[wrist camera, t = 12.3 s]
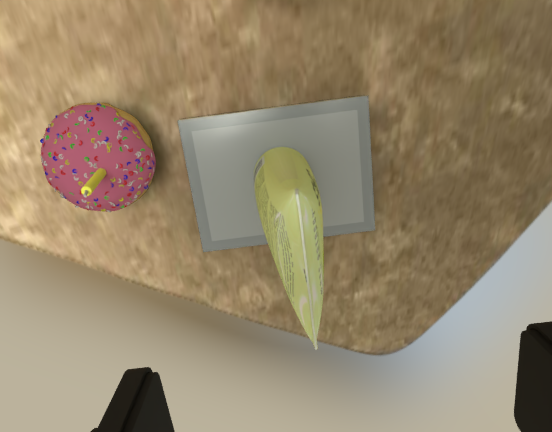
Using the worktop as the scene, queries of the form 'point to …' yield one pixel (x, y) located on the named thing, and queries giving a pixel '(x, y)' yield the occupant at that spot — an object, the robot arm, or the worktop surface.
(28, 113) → the worktop surface
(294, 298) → the tube
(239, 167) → the grey flat block
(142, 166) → the cupcake
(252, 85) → the worktop surface
